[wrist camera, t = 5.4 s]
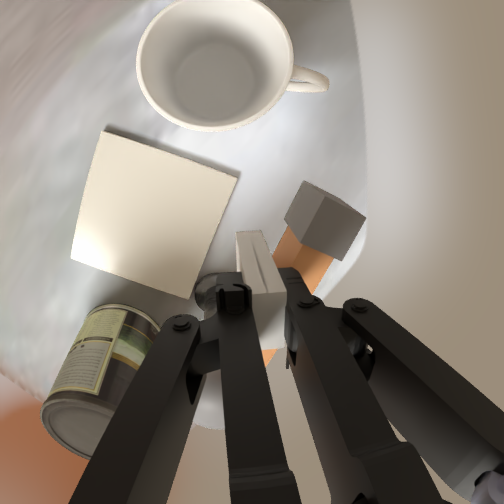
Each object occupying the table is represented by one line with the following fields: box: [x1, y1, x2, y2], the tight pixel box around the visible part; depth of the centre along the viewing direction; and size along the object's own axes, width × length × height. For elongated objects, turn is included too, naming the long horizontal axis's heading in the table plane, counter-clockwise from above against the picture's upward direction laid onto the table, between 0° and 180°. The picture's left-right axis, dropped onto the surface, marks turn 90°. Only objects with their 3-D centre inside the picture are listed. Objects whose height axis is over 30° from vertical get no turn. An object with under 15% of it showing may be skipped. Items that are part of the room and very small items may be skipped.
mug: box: [136, 0, 329, 132], centre depth 19 cm, size 12×8×12 cm
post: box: [195, 273, 220, 320], centre depth 27 cm, size 4×4×12 cm
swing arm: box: [193, 181, 366, 429], centre depth 18 cm, size 17×5×4 cm, turn 155°
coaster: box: [71, 131, 237, 300], centre depth 28 cm, size 13×13×1 cm
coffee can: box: [40, 304, 161, 460], centre depth 27 cm, size 10×10×14 cm
